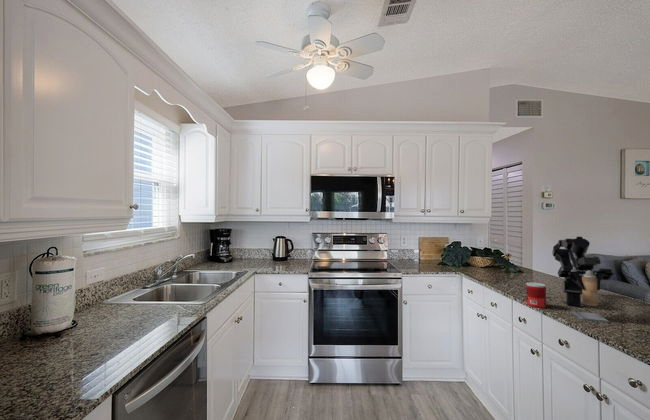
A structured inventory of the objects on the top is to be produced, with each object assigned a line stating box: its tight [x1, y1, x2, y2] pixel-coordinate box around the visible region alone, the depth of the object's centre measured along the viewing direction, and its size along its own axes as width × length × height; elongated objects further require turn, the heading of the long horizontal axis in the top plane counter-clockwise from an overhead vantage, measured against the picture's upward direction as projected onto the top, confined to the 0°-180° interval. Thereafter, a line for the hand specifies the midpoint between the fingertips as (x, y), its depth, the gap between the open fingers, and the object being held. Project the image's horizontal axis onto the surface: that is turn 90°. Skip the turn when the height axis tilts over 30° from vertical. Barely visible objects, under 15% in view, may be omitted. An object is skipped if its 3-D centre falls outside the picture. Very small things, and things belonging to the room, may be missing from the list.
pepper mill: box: [581, 270, 599, 307], centre depth 126 cm, size 5×5×15 cm
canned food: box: [525, 281, 547, 309], centre depth 143 cm, size 8×8×11 cm
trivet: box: [572, 310, 609, 323], centre depth 126 cm, size 9×9×1 cm
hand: (591, 289), depth 125 cm, fingers closed on pepper mill, 5 cm apart
